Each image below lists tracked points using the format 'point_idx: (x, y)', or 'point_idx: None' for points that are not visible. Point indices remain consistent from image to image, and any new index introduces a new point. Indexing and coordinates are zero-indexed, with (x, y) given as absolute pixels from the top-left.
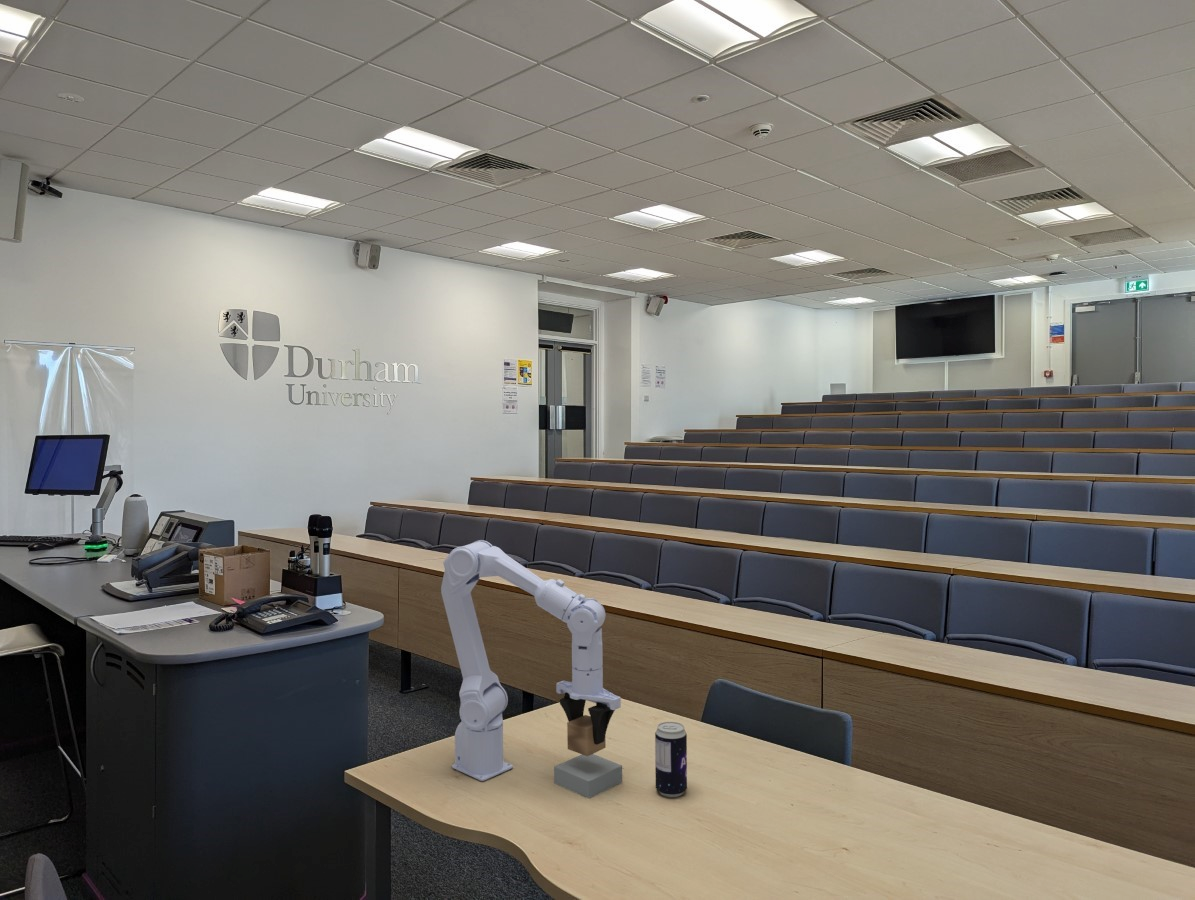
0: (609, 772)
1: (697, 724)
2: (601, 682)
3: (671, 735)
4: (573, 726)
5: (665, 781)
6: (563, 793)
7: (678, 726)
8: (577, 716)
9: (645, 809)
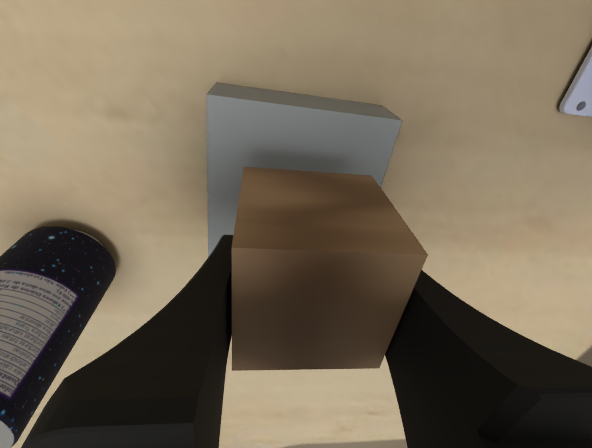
0: (208, 203)
1: (267, 443)
2: None
3: None
4: (365, 244)
5: (17, 249)
6: (312, 60)
7: None
8: (403, 335)
9: (24, 133)
